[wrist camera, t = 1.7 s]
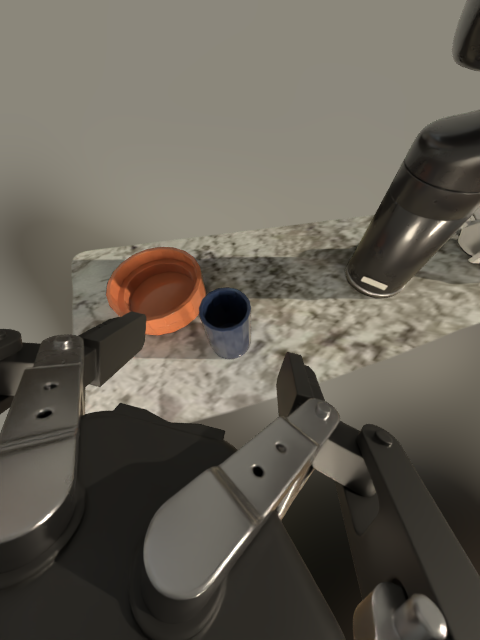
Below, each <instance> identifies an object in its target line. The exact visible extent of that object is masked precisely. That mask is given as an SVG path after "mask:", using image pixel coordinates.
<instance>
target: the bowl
mask: <svg viewBox="0 0 480 640" xmlns="http://www.w3.org/2000/svg"><path fill="white" fill-rule="evenodd" d="M106 296H107V299H108V303H109V306H110V307H111V308H112V309H113V310H114V311H115V312H116V313H117V314H118V315H119V316H120V317H121V316H123V315H125V314H127V313H128V312H130V311H133V312H137V313H141V314H145V315H146V318H147V320H146V332H145V334H149V335H162V334H167V333H172V332H175V331H177V330H179V329H181V328H183V327H185V326H187V325H188V324H189V323H190V322H191V321H192V320H193V319H195V318H196V317H197V316H198V314H199V306H200V304H201V301H202V299H203V298H204V297H205V296H206V288H205V283H204V279H203V276H202V272H201V269H200V266H199V264H198V263H197V261H196V260H195V258H194V257H193V256H191V255H190V254H188V253H187V252H186V251H183V250H180V249H177V248H173V247H157V248H151V249H146V250H144V251H141V252H139V253H136V254H134V255H132V256H131V257H129V258H128V259H126V260H125V261H123V262H122V263H121V264H120V265H119V266H118V267H117V268H116V270H115V271H114V272H113V273H112V275H111V277H110V279H109V281H108V283H107V291H106Z"/></svg>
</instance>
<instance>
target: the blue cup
mask: <svg viewBox="0 0 480 640" xmlns="http://www.w3.org/2000/svg"><path fill="white" fill-rule="evenodd" d="M199 317H200V319H201V322H202V324H203V327H204V329H205V332H206V334H207V337H208V339H209V342H210V344H211V346H212V348H213V350H214V352H215V353H216V354H217V355H218V356H220V357H222V358H225V359H235V358H238V357H240V356H242V355H243V354H244V353H245V352H246V351H247V350H248V348H249V346H250V342H251V306H250V301H249V299H248V298H247V297H246V295H245V294H244V293H242V292H241V291H239V290H237V289H233V288H228V287H226V288H218V289H216V290H214V291H211V292H209V293H208V294H207V295H206V296H205V297H204V298H203V299H202V301H201V304H200V306H199Z"/></svg>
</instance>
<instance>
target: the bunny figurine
mask: <svg viewBox="0 0 480 640" xmlns="http://www.w3.org/2000/svg"><path fill="white" fill-rule="evenodd" d="M473 216H474V218H475V221H471V220H470V219H468V220H467V221H466V222H465V223H464V224H463V225H462V226H461V227H460V228H461V229H462V230H461V233H460V236H459V239H458V243H459V244H460V246H461V247H462V249H463V250H464V251H465V252H466V253H468V254H470V255H472V256H473V257H471V258H470V259H469V260H468V261H470V262H471V263H480V207H479V208H478V209H477V210H476V211H475V212H474V214H473Z"/></svg>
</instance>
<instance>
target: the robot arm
mask: <svg viewBox="0 0 480 640" xmlns="http://www.w3.org/2000/svg"><path fill="white" fill-rule="evenodd" d="M452 53H453V58H454V61H455V62H456V63H457V64H458V65H460V66H462V67H465V68H468V69H471V70H474V71H480V0H467V1H466V4H465V6H464V9H463V11H462V14H461V17H460V19H459V22H458V25H457V29H456V32H455V36H454V40H453V48H452ZM479 207H480V110H476V111H472V112H468V113H463V114H458V115H453V116H449V117H445V118H442V119H439V120H436V121H434V122H432V123H430V124H429V125H427V126H426V127H425V128H424V129H423V130H422V131H421V132H420V133H419V134H418V136H417V137H416V139H415V141H414V142H413V144H412V146H411V148H410V150H409V151H408V153H407V155H406V157H405V159H404V161H403V163H402V165H401V167H400V169H399V170H398V172H397V174H396V176H395V178H394V180H393V182H392V184H391V186H390V188H389V189H388V191H387V193H386V195H385V197H384V199H383V200H382V202H381V204H380V206H379V208H378V210H377V212H376V214H375V215H374V217H373V219H372V221H371V223H370V225H369V227H368V228H367V230H366V232H365V234H364V236H363V238H362V240H361V241H360V243H359V245H358V247H357V249H356V251H355V252H354V254H353V256H352V258H351V259H350V261H349V262H348V264H347V266H346V270H345V274H346V278H347V280H348V282H349V283H350V284H351V285H352V286H353V287H354V288H355V289H356V290H357V291H359V292H361V293H363V294H365V295H367V296H371V297H375V298H388V297H392V296H394V295H396V294H398V293H399V292H400V291H401V290H402V289H403V288H404V286H405V284H406V283H407V282H408V281H409V280H410V279H411V278H412V277H413V276H414V275H415V274H416V273H417V272H418V271H419V270H420V269H421V268H422V267H423V266H424V265H425V264H426V263H427V262H428V261H429V260H430V259H431V258H432V257H433V255H434V254H435V253H436V252H437V251H438V250H439V249H440V248H441V247H442V246H443V245H444V244H445V243H446V242H447V241H448V240H449V239H450V238H451V237H452V236H453V235H454V234H455V233H456V231H457V230H458V229H459V228H460V227H461V226H462V225H463V224H464V223H465V222H466V221H467V220H468V219H469V218H470V217H471V216H472V215H473V214H474V212H475V211H476V210H477V209H478V208H479ZM146 320H147V318H146V315H145V314H141V313H137V312H133V311H130V312H128V313H127V314H125V315H123V316H121V317H117V318H113V319H109V320H107V321H105V322H103V323H102V324H99V325H98V326H96V327H94V328H92V329H90V330H88V331H86V332H84V333H82V334H80V335H79V336H76V335H57V336H53V337H49V338H47V339H45V340H44V341H42V343H41V344H37V343H22V339H21V334H20V333H19V332H18V331H15V330H11V329H0V414H1V413H3V412H4V411H5V410H7V409H8V408H10V410H9V412H8V414H7V417H6V420H5V422H4V425H3V428H2V430H1V433H0V640H345V638H344V635H343V633H342V631H341V629H340V627H339V625H338V623H337V621H336V619H335V617H334V615H333V613H332V612H331V610H330V608H329V606H328V604H327V603H326V601H325V599H324V597H323V595H322V594H321V592H320V590H319V588H318V586H317V585H316V583H315V581H314V579H313V578H312V576H311V574H310V572H309V570H308V569H307V567H306V565H305V563H304V561H303V560H302V558H301V556H300V554H299V552H298V551H297V549H296V547H295V545H294V544H293V542H292V540H291V538H290V537H289V535H288V533H287V531H286V529H285V528H284V526H283V524H282V522H281V520H282V518H283V517H284V515H285V513H286V512H287V510H288V508H289V506H290V505H291V503H292V501H293V500H294V499H295V497H296V495H297V494H298V493H299V491H300V490H301V488H302V487H303V485H304V484H305V482H306V481H307V479H308V478H309V476H310V475H311V474H312V472H313V471H314V469H316V470H318V471H320V472H321V473H323V474H325V475H327V476H328V477H330V478H332V479H333V480H335V484H336V489H337V493H338V497H339V501H340V506H341V510H342V514H343V519H344V523H345V527H346V531H347V535H348V539H349V544H350V548H351V553H352V556H353V561H354V565H355V570H356V574H357V579H358V582H359V587H360V591H361V596H362V600H363V601H362V602H361V603H360V604H359V605H358V606H357V608H356V610H355V612H354V617H353V633H354V640H480V577H479V575H478V573H477V572H476V570H475V568H474V567H473V565H472V563H471V562H470V560H469V558H468V557H467V555H466V553H465V552H464V550H463V548H462V547H461V545H460V543H459V542H458V540H457V538H456V536H455V535H454V533H453V532H452V530H451V528H450V526H449V525H448V523H447V521H446V520H445V518H444V516H443V515H442V513H441V511H440V510H439V508H438V506H437V505H436V503H435V502H434V500H433V498H432V496H431V495H430V493H429V492H428V490H427V488H426V487H425V485H424V483H423V481H422V480H421V478H420V477H419V475H418V473H417V472H416V470H415V468H414V466H413V465H412V463H411V461H410V460H409V458H408V456H407V455H406V453H405V451H404V450H403V448H402V446H401V445H400V443H399V442H398V441H397V440H396V439H395V437H393V436H392V435H391V434H390V433H389V432H387V431H386V430H384V429H382V428H380V427H378V426H375V425H372V424H366V425H364V426H363V427H362V429H361V431H359V430H357V429H355V428H353V427H351V426H349V425H347V424H345V423H343V422H341V421H340V415H339V413H338V412H337V410H336V409H335V408H334V407H333V406H332V405H330V404H329V403H327V402H325V400H324V397H323V394H322V392H321V389H320V386H319V384H318V381H317V378H316V375H315V373H314V372H313V370H312V369H311V368H310V367H309V366H306V365H304V363H303V359H302V356H301V355H298V354H294V353H291V352H287V353H286V355H285V358H284V361H283V363H282V366H281V369H280V372H279V375H278V378H277V384H276V387H277V399H278V413H279V417H278V418H276V419H275V420H274V421H273V422H272V423H270V424H269V425H268V426H267V427H266V428H264V429H263V430H262V431H261V432H259V433H258V434H257V435H256V436H255V437H254V438H252V439H251V440H250V441H249V442H247V443H246V444H245V445H244V446H242V447H241V448H240V449H239V450H237V449H236V448H235V447H234V446H233V445H231V444H230V443H228V442H227V441H225V440H223V439H224V434H225V431H224V430H221V429H217V428H213V427H209V426H205V425H202V424H191V423H171V422H168V421H166V420H164V419H162V418H160V417H158V416H156V415H155V414H153V413H151V412H149V411H147V410H145V409H141V408H138V407H134V406H130V405H126V404H122V403H120V404H119V405H118V406H117V407H116V408H115V409H114V410H113V411H99V412H93V413H88V414H85V395H86V391H85V387H86V386H87V385H88V384H91V385H94V386H98V387H101V386H102V385H103V384H104V383H105V382H106V381H107V380H108V379H109V378H111V377H112V376H113V375H114V374H115V373H116V372H117V371H118V370H119V369H120V368H122V367H123V366H124V365H125V364H126V363H127V362H128V361H129V360H130V359H131V358H133V357H134V356H135V355H136V354H137V353H138V352H139V351H140V350H141V349H142V347H143V345H144V342H145V332H146Z"/></svg>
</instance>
